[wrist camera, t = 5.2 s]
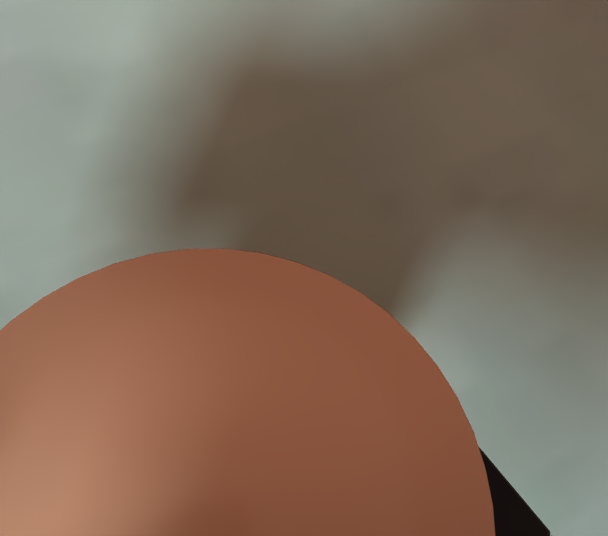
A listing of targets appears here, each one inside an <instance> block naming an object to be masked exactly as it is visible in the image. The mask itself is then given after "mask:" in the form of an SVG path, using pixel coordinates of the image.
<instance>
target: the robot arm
mask: <svg viewBox="0 0 608 536" xmlns="http://www.w3.org/2000/svg"><path fill="white" fill-rule="evenodd" d="M478 447H479V446H478ZM479 450H480V453H481V456H482V459H483V462H484V465H485V469H486V474H487V479H488V484H489V489H490V494H491V499H492V504H493V513H494V525H495V536H550V531H549V530H548V528H547V527H546V526H545V525H544V524H543V522H542V521H541V520H540V519H539V518H538V517H537V515H536V514H535V513H534V512H533V511H532V509H531V508H530V507H529V506H528V505H527V503H526V502H525V501H524V500H523V499H522V497H521V496H520V495H519V494H518V493H517V492H516V490H515V489H514V488H513V487H512V486H511V484H510V483H509V482H508V481H507V480H506V478H505V477H504V476H503V475H502V474H501V473H500V471H499V470H498V469H497V468H496V467H495V465H494V464H493V463H492V462H491V461H490V459H489V458H488V457H487V456H486V455H485V453H484V452H483V451H482V450H481V449H480V448H479Z"/></svg>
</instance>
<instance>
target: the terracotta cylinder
mask: <svg viewBox="0 0 608 536" xmlns="http://www.w3.org/2000/svg"><path fill="white" fill-rule="evenodd" d="M0 536H495V525H494V513H493V504H492V499H491V494H490V489H489V484H488V479H487V474H486V469H485V465H484V462H483V459H482V456H481V453H480V450H479V447H478V444H477V441H476V438H475V435H474V432H473V430H472V427H471V425H470V423H469V421H468V419H467V417H466V415H465V413H464V410H463V408H462V406H461V404H460V402H459V400H458V398H457V396H456V394H455V393H454V391H453V390H452V388H451V386H450V385H449V383H448V382H447V380H446V379H445V377H444V375H443V374H442V372H441V371H440V369H439V367H438V366H437V365H436V363H435V362H434V361H433V360H432V359H431V357H430V356H429V355H428V354H427V352H426V351H425V350H424V349H423V348H422V346H421V345H420V344H419V343H418V341H417V340H416V339H415V338H414V337H413V336H412V335H411V334H410V333H409V332H408V331H407V330H406V329H405V328H404V327H403V326H401V325H400V324H399V323H398V322H397V321H396V320H395V319H394V318H393V317H392V316H391V315H390V314H389V313H388V312H386V311H385V310H383V309H382V308H381V307H379V306H378V305H377V304H375V303H374V302H373V301H371V300H370V299H368V298H367V297H366V296H364V295H363V294H362V293H360V292H359V291H357V290H355V289H353V288H351V287H350V286H348V285H346V284H344V283H342V282H340V281H339V280H337V279H335V278H333V277H331V276H330V275H328V274H325V273H322V272H320V271H317V270H315V269H312V268H310V267H307V266H305V265H302V264H300V263H297V262H294V261H290V260H286V259H282V258H278V257H274V256H270V255H266V254H262V253H256V252H248V251H239V250H231V249H184V250H177V251H169V252H162V253H155V254H149V255H145V256H141V257H138V258H134V259H130V260H126V261H123V262H119V263H115V264H112V265H110V266H107V267H105V268H102V269H100V270H97V271H95V272H92V273H90V274H87V275H85V276H82V277H80V278H78V279H76V280H74V281H72V282H70V283H69V284H67V285H65V286H63V287H61V288H60V289H58V290H56V291H54V292H52V293H51V294H49V295H47V296H45V297H43V298H42V299H41V300H39V301H38V302H36V303H35V304H34V305H32V306H31V307H30V308H28V309H27V310H25V311H24V312H23V313H21V314H20V315H18V316H17V317H16V318H14V319H13V320H12V321H10V322H9V323H8V324H7V325H6V326H5V327H4V328H3V329H2V330H1V331H0Z"/></svg>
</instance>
